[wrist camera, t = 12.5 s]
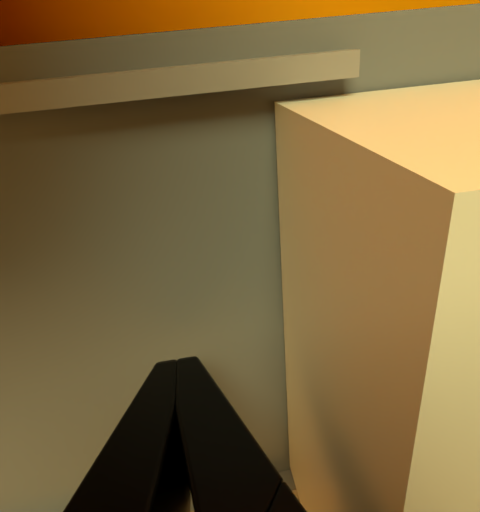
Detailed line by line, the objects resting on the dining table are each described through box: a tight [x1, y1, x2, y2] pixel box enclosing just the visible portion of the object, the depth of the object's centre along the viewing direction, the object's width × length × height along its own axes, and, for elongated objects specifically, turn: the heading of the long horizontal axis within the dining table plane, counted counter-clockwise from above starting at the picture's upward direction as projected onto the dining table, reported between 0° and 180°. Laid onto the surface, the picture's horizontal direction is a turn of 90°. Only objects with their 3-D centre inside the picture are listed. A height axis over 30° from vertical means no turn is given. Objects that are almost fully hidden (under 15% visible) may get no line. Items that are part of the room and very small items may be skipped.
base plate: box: [0, 4, 480, 512], centre depth 11 cm, size 21×18×3 cm
